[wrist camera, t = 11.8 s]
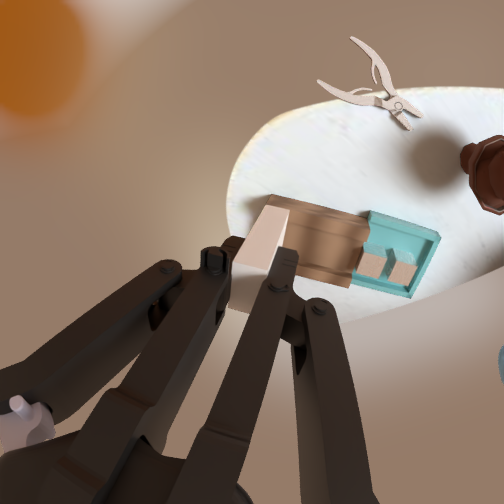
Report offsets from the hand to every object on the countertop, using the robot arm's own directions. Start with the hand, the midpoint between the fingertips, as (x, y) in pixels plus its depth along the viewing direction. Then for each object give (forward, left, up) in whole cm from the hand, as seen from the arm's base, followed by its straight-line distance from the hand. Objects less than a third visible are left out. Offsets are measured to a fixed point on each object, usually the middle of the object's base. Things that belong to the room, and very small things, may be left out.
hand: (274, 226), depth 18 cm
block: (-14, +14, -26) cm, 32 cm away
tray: (-18, +13, -27) cm, 35 cm away
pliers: (-8, -12, -27) cm, 31 cm away
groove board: (-4, +14, -27) cm, 30 cm away
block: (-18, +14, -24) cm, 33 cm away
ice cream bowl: (-27, -7, -27) cm, 39 cm away
